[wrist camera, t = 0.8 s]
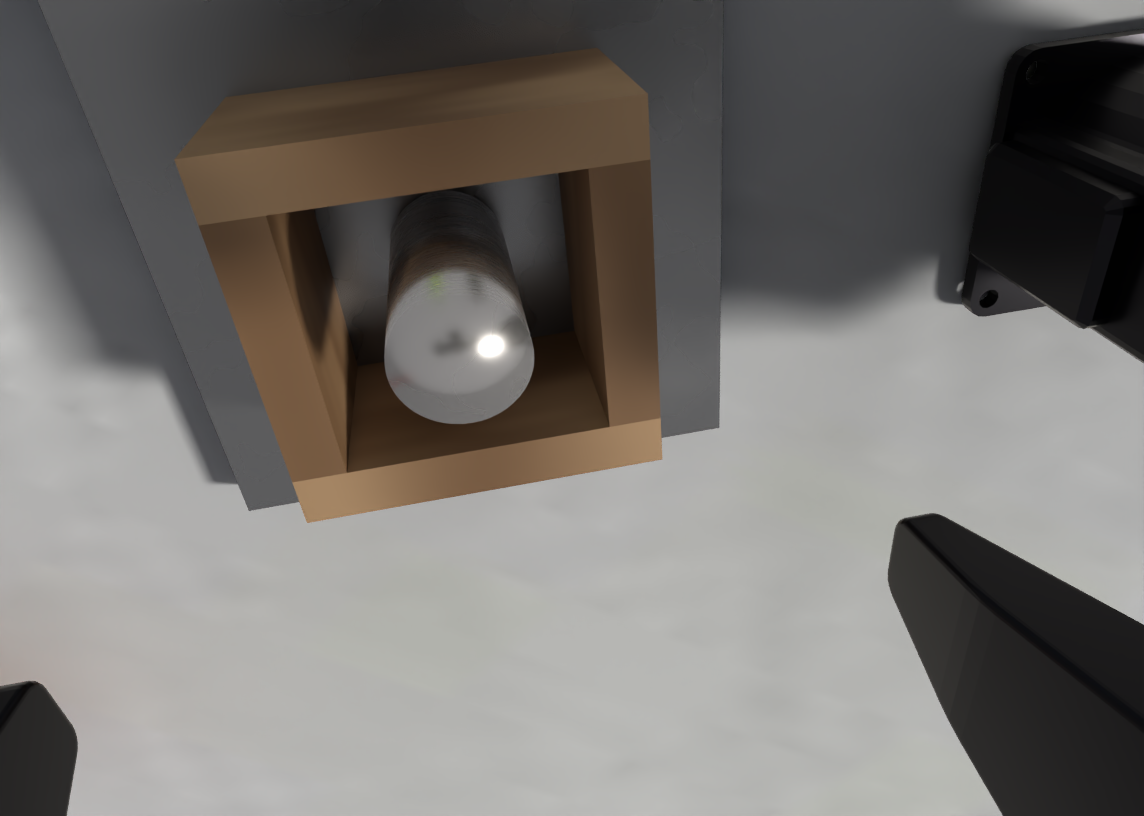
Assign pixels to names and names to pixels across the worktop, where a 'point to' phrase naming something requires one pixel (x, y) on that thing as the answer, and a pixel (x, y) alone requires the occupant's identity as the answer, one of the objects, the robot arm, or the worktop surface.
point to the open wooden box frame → (416, 165)
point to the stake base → (411, 222)
